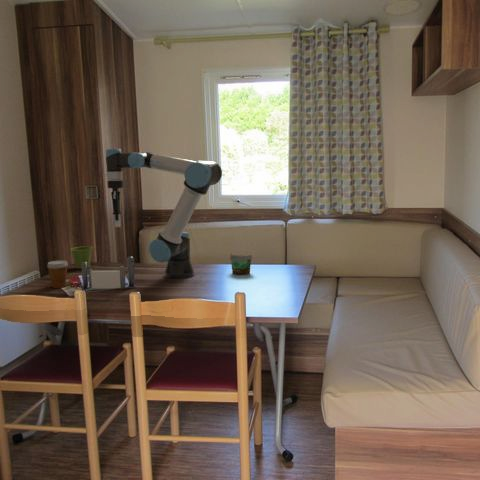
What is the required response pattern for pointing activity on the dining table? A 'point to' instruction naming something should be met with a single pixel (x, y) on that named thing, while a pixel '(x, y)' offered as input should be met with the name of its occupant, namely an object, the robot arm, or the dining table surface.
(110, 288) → the strip
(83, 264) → the hinge post
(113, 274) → the gate
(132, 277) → the post
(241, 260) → the food container
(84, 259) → the plant pot
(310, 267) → the dining table surface
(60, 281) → the disposable coffee cup
